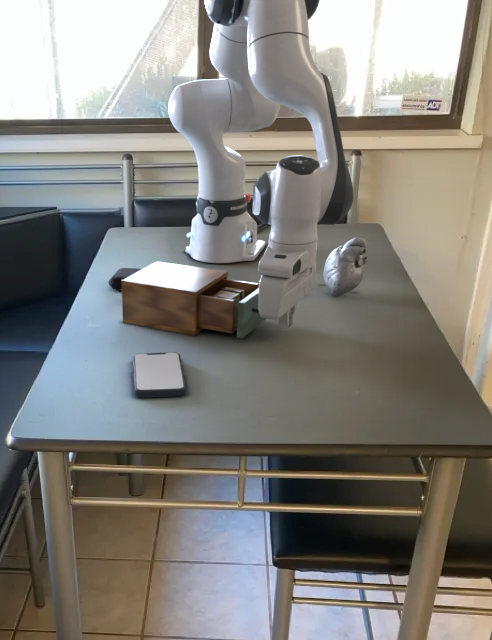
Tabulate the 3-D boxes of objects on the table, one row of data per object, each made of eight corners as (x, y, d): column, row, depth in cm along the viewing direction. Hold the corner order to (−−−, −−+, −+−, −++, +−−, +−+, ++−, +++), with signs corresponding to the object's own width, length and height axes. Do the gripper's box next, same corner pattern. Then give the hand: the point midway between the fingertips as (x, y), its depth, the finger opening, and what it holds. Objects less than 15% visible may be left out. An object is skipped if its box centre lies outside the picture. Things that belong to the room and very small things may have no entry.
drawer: (292, 320, 163) (295, 286, 159) (266, 342, 154) (268, 307, 150) (201, 305, 172) (201, 273, 168) (171, 325, 163) (171, 291, 159)
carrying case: (105, 293, 183) (169, 296, 180) (104, 279, 181) (169, 282, 178) (117, 278, 192) (178, 281, 189) (117, 265, 190) (179, 268, 187)
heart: (323, 280, 185) (326, 228, 177) (365, 283, 182) (371, 231, 174) (314, 302, 179) (318, 249, 170) (359, 305, 176) (364, 252, 167)
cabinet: (226, 312, 171) (228, 271, 166) (194, 335, 160) (195, 292, 155) (157, 301, 178) (156, 261, 173) (122, 322, 167) (121, 280, 163)
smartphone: (187, 398, 137) (180, 359, 150) (187, 389, 136) (180, 351, 149) (134, 400, 137) (132, 361, 150) (134, 391, 136) (132, 353, 149)
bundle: (224, 308, 167) (225, 285, 164) (244, 311, 165) (245, 288, 162) (205, 321, 161) (205, 298, 158) (225, 325, 159) (226, 302, 156)
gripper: (295, 238, 158) (289, 308, 166) (253, 267, 144) (249, 342, 152) (327, 242, 156) (319, 313, 164) (287, 271, 141) (281, 347, 149)
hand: (285, 327), depth 158 cm, fingers closed
